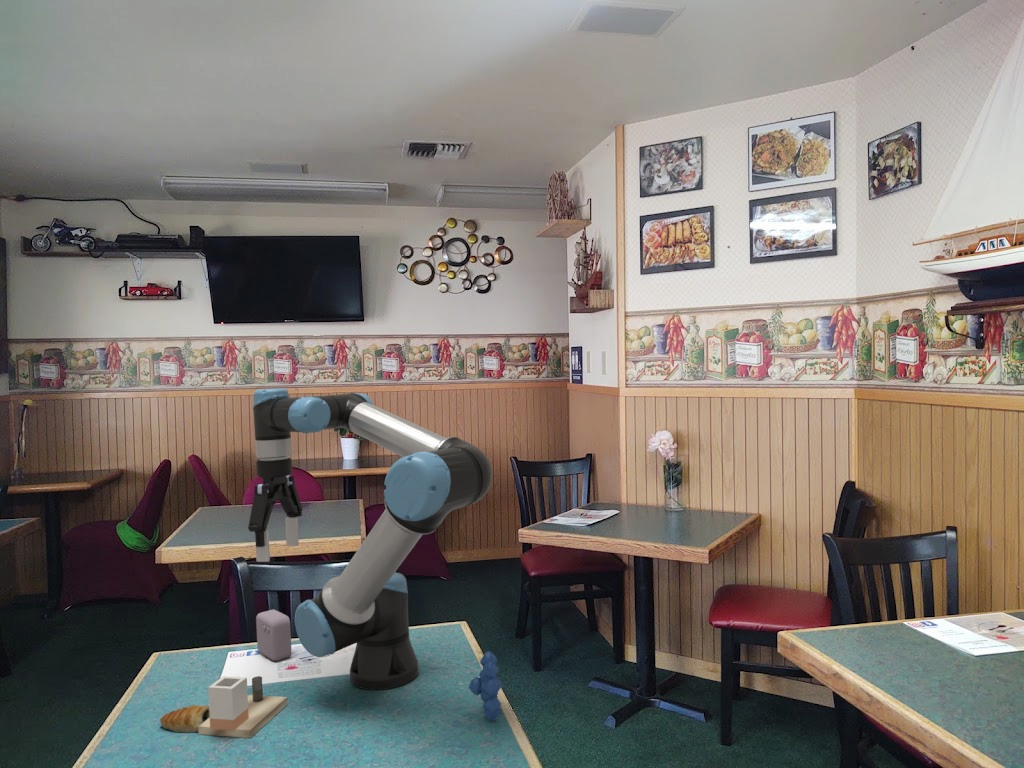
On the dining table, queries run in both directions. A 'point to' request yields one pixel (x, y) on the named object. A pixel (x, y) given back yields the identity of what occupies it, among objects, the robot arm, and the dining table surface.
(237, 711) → the sleeve
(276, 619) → the electronic device
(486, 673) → the grapes
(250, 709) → the pin board
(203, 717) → the pastry
